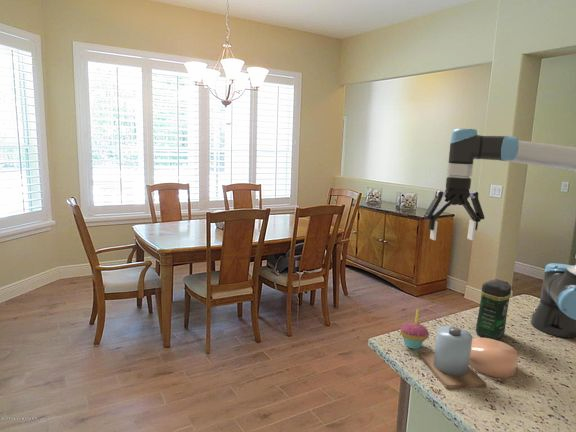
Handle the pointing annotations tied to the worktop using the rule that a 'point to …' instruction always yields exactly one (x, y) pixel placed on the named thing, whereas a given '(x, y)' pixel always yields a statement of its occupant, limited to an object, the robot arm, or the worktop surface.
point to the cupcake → (414, 333)
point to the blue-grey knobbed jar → (452, 350)
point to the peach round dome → (493, 358)
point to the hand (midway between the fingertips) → (451, 239)
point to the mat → (448, 380)
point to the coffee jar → (493, 309)
